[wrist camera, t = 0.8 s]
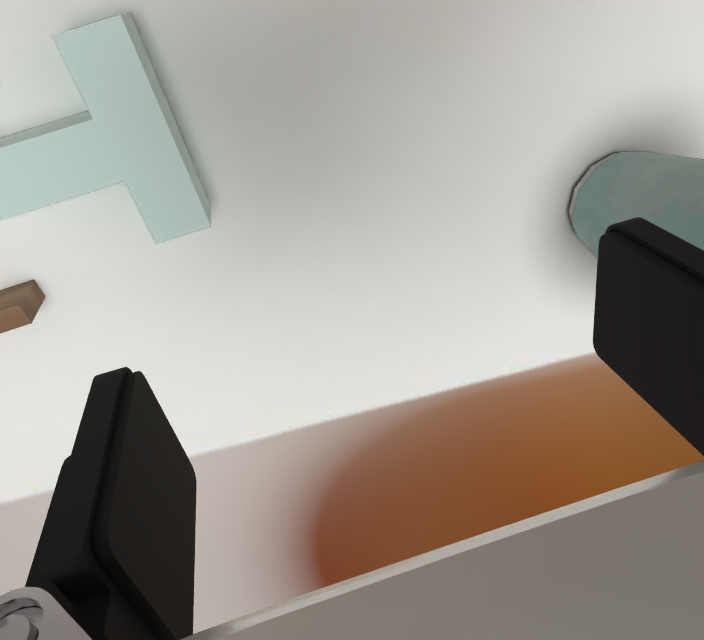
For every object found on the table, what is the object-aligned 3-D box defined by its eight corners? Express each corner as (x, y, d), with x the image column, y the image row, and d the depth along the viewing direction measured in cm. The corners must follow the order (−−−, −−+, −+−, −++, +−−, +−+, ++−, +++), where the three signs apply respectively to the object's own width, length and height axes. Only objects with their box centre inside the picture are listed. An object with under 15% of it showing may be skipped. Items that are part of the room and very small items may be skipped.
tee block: (-78, 74, 25) (-115, 85, 22) (130, 11, 26) (120, 15, 23) (41, 258, 31) (24, 287, 28) (210, 204, 31) (210, 226, 29)
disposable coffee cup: (539, 140, 34) (734, 229, 21) (696, 94, 35) (972, 155, 22) (542, 284, 40) (696, 421, 27) (676, 243, 40) (885, 356, 28)
